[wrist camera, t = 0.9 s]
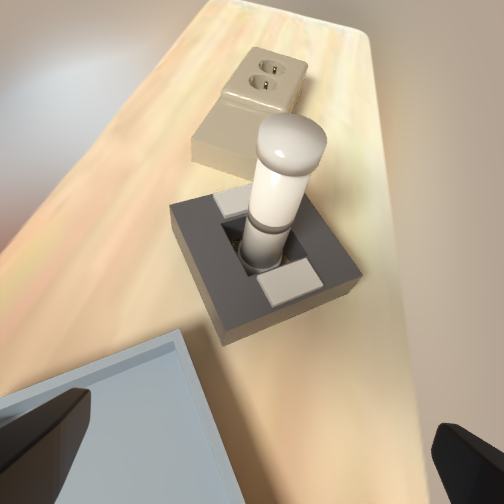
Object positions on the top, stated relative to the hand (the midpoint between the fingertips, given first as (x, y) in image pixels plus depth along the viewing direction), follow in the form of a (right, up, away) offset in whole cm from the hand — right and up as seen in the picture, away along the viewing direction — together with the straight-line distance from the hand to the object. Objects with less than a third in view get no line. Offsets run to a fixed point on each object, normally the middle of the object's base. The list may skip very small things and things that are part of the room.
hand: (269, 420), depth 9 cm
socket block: (0, +4, +19) cm, 20 cm away
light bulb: (0, +4, +19) cm, 20 cm away
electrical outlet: (0, +19, +30) cm, 35 cm away
